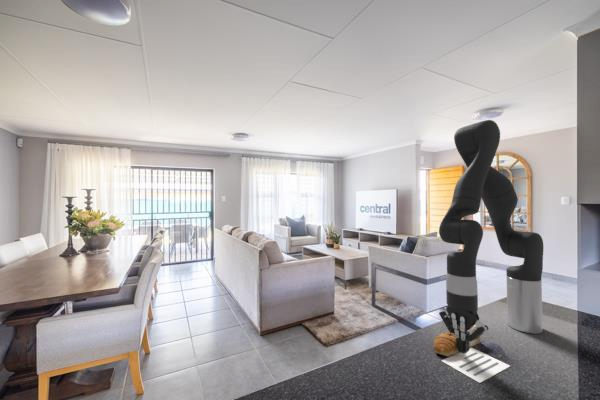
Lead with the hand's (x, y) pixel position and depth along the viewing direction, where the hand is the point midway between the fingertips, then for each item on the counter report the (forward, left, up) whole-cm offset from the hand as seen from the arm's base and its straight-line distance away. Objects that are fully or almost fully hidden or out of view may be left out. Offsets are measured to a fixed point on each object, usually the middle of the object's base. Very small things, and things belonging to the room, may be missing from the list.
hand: (462, 351), depth 74 cm
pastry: (0, -4, -2) cm, 5 cm away
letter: (0, +3, -2) cm, 4 cm away
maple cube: (-10, -5, -2) cm, 11 cm away
